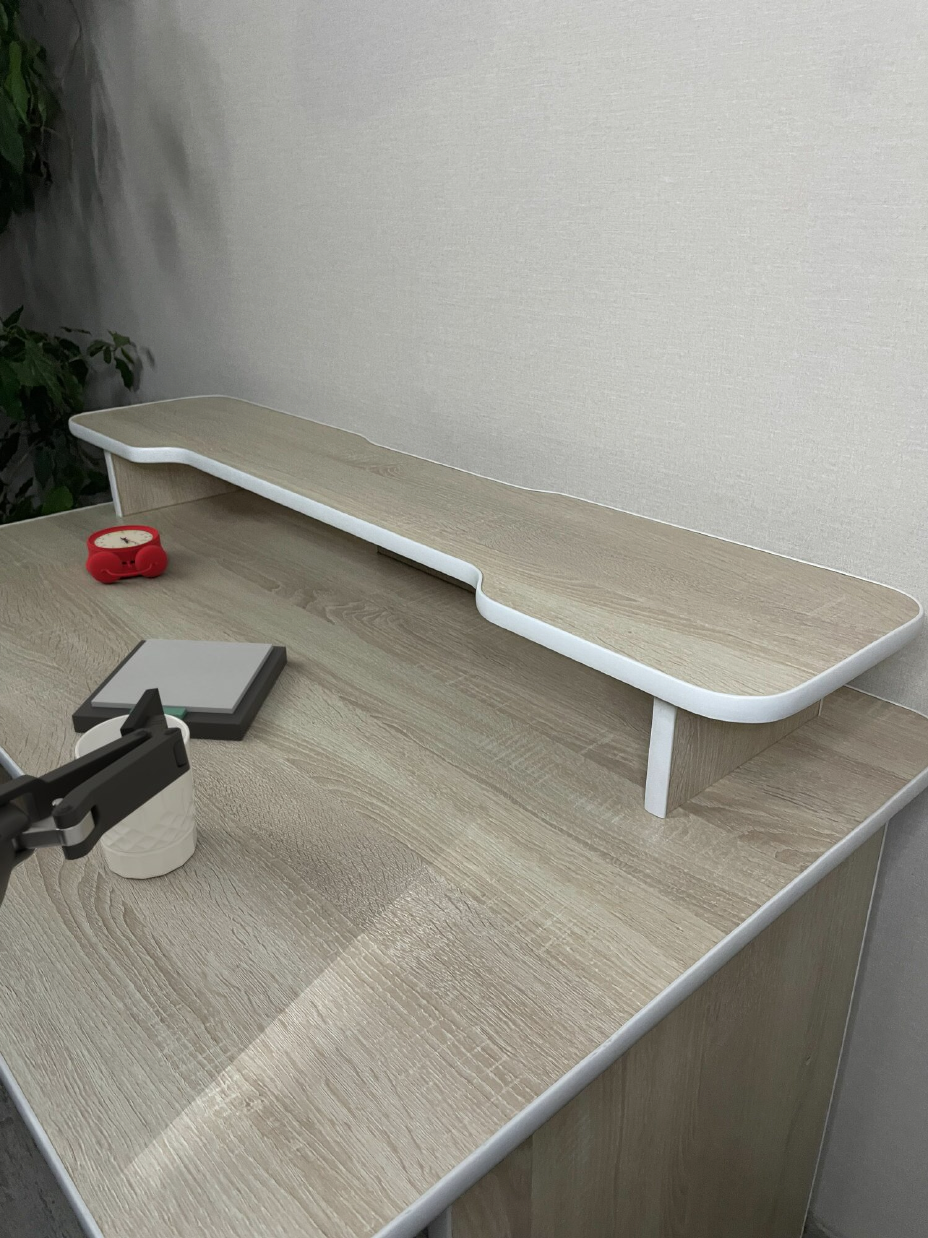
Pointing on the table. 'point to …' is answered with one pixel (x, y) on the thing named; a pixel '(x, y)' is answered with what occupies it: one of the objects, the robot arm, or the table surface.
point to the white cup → (149, 816)
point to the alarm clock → (125, 553)
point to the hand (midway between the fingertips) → (49, 725)
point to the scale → (190, 685)
